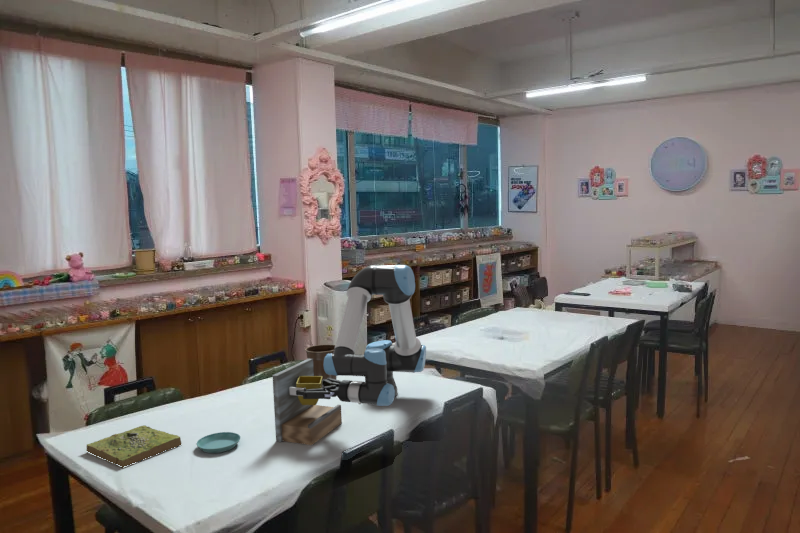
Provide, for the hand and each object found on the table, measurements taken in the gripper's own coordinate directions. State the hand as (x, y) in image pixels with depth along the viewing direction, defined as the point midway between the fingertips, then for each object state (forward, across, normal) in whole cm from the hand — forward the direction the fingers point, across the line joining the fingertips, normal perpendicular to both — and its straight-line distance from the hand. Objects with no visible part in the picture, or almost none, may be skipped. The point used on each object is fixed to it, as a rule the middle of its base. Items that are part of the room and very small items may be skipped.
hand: (298, 386), depth 215 cm
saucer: (+20, -22, -17) cm, 34 cm away
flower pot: (-4, 0, -6) cm, 8 cm away
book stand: (-4, 0, -17) cm, 17 cm away
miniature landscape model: (+47, -33, -18) cm, 60 cm away
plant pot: (+24, +58, -17) cm, 65 cm away
